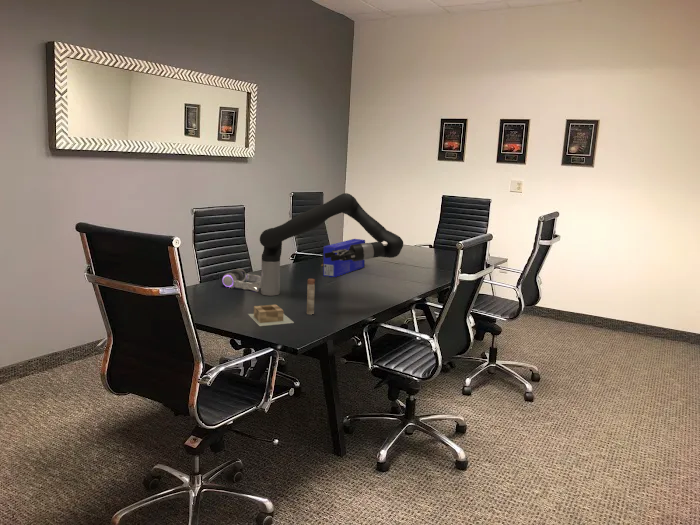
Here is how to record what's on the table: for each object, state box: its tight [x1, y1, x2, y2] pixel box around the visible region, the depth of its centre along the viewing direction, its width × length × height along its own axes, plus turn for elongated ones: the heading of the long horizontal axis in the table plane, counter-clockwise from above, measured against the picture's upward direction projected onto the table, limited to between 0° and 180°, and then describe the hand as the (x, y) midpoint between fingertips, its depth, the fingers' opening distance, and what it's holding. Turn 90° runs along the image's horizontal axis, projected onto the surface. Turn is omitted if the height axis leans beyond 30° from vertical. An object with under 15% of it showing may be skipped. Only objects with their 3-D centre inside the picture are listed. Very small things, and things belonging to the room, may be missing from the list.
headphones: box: [222, 268, 261, 293], centre depth 290 cm, size 22×8×22 cm
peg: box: [306, 278, 316, 316], centre depth 243 cm, size 3×3×16 cm
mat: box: [247, 313, 295, 327], centre depth 234 cm, size 18×15×1 cm
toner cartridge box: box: [322, 238, 366, 278], centre depth 336 cm, size 39×8×18 cm, turn 151°
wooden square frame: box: [253, 304, 285, 323], centre depth 233 cm, size 10×10×4 cm
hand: (327, 257), depth 242 cm, fingers open, 8 cm apart
